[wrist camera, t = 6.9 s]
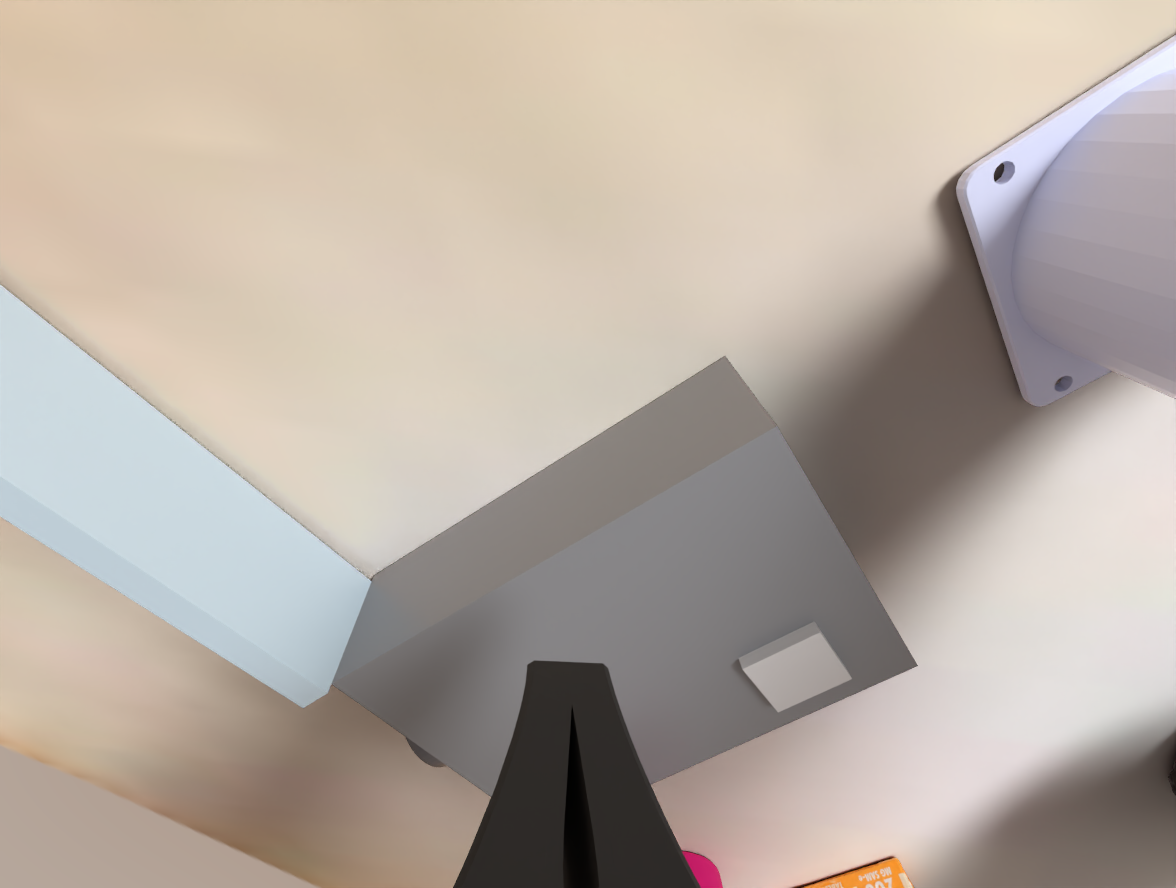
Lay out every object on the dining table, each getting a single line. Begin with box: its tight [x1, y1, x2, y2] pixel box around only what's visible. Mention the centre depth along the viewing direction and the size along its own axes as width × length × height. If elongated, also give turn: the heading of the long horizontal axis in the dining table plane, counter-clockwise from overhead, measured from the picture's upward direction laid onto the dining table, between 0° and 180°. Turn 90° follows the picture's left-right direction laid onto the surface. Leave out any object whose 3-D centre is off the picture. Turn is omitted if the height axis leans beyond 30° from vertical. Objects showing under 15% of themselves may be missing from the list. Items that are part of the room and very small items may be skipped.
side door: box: [0, 285, 372, 708], centre depth 15 cm, size 14×2×4 cm, turn 36°
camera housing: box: [332, 356, 918, 797], centre depth 19 cm, size 15×10×5 cm, turn 124°
